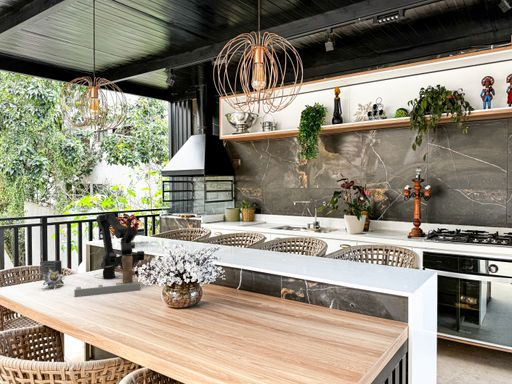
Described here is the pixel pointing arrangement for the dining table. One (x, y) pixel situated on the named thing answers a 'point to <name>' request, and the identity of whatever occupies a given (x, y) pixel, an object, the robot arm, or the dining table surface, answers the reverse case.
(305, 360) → the dining table surface
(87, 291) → the tray
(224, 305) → the dining table surface
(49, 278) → the passion flower
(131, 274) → the walnut block
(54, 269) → the small box
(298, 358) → the dining table surface
